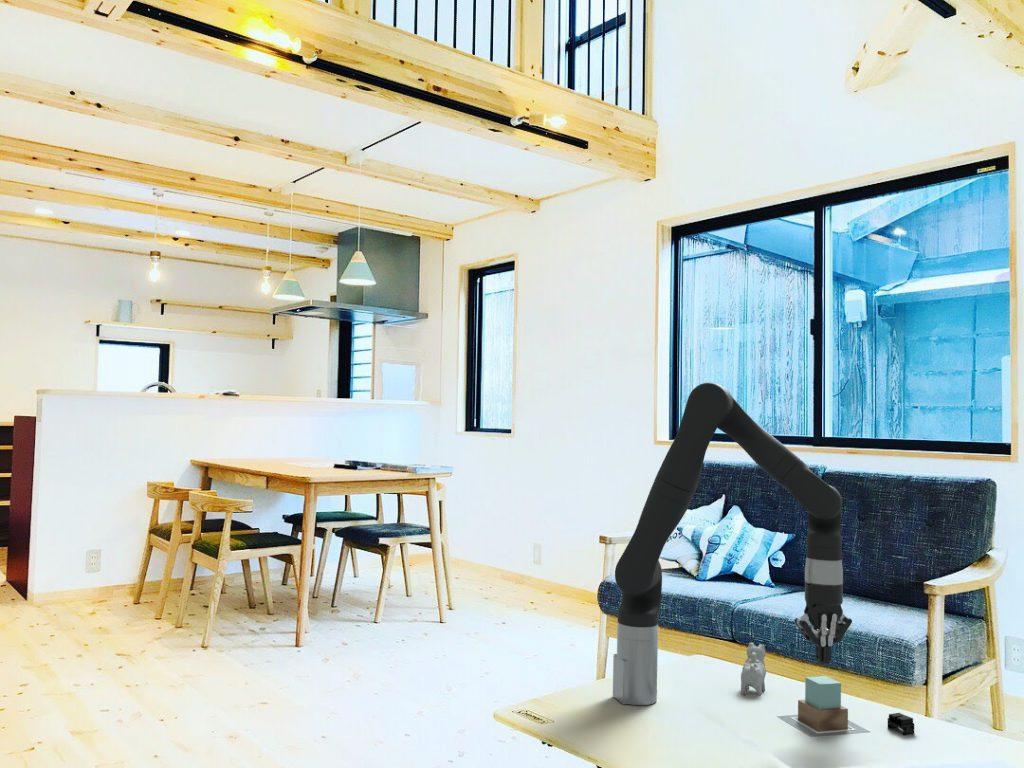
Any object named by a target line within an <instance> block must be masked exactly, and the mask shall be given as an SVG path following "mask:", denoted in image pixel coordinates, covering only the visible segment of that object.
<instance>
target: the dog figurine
mask: <svg viewBox="0 0 1024 768" xmlns="http://www.w3.org/2000/svg"><path fill="white" fill-rule="evenodd" d="M765 649H766V648H765V645H764V644H758V646H757V645H755V643H754V642H749V643H748V646H747V649H746V656H747V659H746V660H745V661H744V664H743V666H742V669H741V670H742V671H741V674H740V695H741V696H740V697H742V696H746V690H749V689H750V687H751V688H752V689H754V690H755V691H756V695H757V696H758V695H759V696H762V694H763V692H765V691H766V686H765V678H766V675H767V668H766V664H765V657H766V652H765V651H766V650H765ZM762 690H763V691H762Z"/></svg>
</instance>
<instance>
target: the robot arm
mask: <svg viewBox="0 0 1024 768" xmlns="http://www.w3.org/2000/svg"><path fill="white" fill-rule="evenodd" d="M717 429H718V430H720V431H721V432H723V433H724V434H725V435H727V436H728V437H729V438H731V439H732V440H733V441H734V442H736V443H737V445H739V447H741V448H742V450H743V451H744V452H745V453H747V455H748V456H749V457H750V458H751V459H752V460H753V461H754V463H756V464H757V466H759V467H760V469H761V470H763V471H764V472H765V473H766V474H767V475H768V476H769V477H771V479H772V480H773V481H775V482H776V483H777V484H778V485H779V486H781V487H782V488H783V489H785V490H786V491H787V492H789V493H790V495H791V496H793V498H794V499H795V500H796V501H797V502H798V503H799V504H800V505H801V506H802V507H803V508H804V509H805V510H806V511H807V527H808V529H807V530H808V531H807V535H806V548H805V550H806V552H805V553H806V554H805V555H806V559H805V566H804V601H805V603H806V605H805V608H804V611H803V613H804V614H802V616H800V618H799V617H796V618H795V619H794V623H795V624H796V626H797V627H798V630H799V631H800V632H801V633H802V635H803V636H804V638H805V640H806V641H807V642H809V643H811V644H814V645H815V660H816V661H817V663H818V664H821V665H830V663H831V660H832V646H834V644H836V643H840V642H841V640H842V639H843V637H844V636H845V634H846V633H847V631H848V629H849V628H850V626H851V624H852V623H853V620H852V618H849V617H848V616H846V615H845V614H844V610H843V608H842V604H843V600H844V597H843V596H844V593H843V592H844V591H843V590H844V589H843V587H844V578H843V577H844V570H843V563H842V562H843V560H842V558H843V556H842V555H843V551H842V548H843V545H842V543H843V542H842V534H841V527H842V513H843V512H842V511H843V509H842V508H843V498H842V495H841V493H840V492H839V490H838V489H837V487H834V486H833V485H830V484H828V483H827V482H825V481H824V480H823V479H822V478H820V477H819V476H818V475H817V474H816V473H814V471H812V470H811V469H810V467H809V466H808V465H807V464H806V463H805V462H804V461H803V460H802V459H800V457H798V456H797V455H796V454H795V453H794V452H793V451H791V450H790V449H789V448H788V447H786V445H785V444H783V443H782V442H781V441H780V440H779V439H777V438H776V437H774V436H773V435H772V434H770V433H769V432H768V431H767V430H765V429H764V427H762V426H761V425H759V424H758V423H757V422H756V421H755V419H753V418H752V417H751V416H750V415H749V414H748V413H747V412H746V411H745V410H744V409H743V408H742V406H741V405H740V404H739V403H738V402H737V400H736V399H735V398H734V397H733V396H732V394H731V393H730V391H729V389H727V387H725V386H724V385H721V384H720V383H716V382H702V383H699V384H698V385H697V386H695V387H694V388H693V389H692V391H691V392H690V393H689V395H688V398H687V401H686V404H685V407H684V411H683V414H682V418H681V421H680V424H679V426H678V429H677V433H676V436H675V437H674V440H673V441H672V443H671V445H670V447H669V448H668V450H667V453H666V455H665V457H664V459H663V461H662V463H661V465H660V467H659V470H658V472H657V473H656V476H655V478H654V481H653V482H652V486H651V487H650V489H649V493H648V496H647V497H646V501H645V502H644V505H643V508H642V511H641V513H640V517H639V519H638V523H637V526H636V527H635V530H634V532H633V534H632V536H631V538H630V540H629V542H628V543H627V545H626V547H625V549H624V550H623V553H622V554H621V556H620V557H619V559H618V561H617V563H616V566H615V569H614V579H615V583H616V585H617V587H618V588H619V590H620V591H621V592H622V595H621V596H622V597H621V601H620V605H619V607H618V608H617V609H618V610H617V631H616V632H617V633H616V635H617V636H616V637H617V638H616V653H614V654H613V659H612V660H613V663H612V664H613V665H612V696H613V698H615V699H616V701H617V700H619V702H620V703H621V704H622V705H633V706H648V705H653V704H655V703H657V699H658V697H657V696H658V655H659V654H658V651H659V650H658V648H659V647H658V645H659V644H658V643H659V642H658V641H659V615H660V613H661V606H662V592H663V590H662V589H663V588H662V586H663V571H662V565H661V563H660V561H659V559H660V558H661V557H660V556H661V554H662V551H663V549H664V547H665V545H666V543H667V541H668V540H669V538H670V537H671V535H672V534H673V532H674V531H675V529H676V528H677V527H678V526H679V524H680V522H681V521H682V519H683V517H684V516H685V515H686V512H687V510H688V509H689V507H690V504H691V502H692V500H693V498H694V495H695V493H696V490H697V488H698V485H699V482H700V478H701V474H702V469H703V466H704V461H705V456H706V452H707V450H708V447H709V444H711V440H712V439H713V437H714V435H715V433H716V431H717ZM810 625H811V627H810Z"/></svg>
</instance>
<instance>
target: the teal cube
mask: <svg viewBox="0 0 1024 768" xmlns="http://www.w3.org/2000/svg"><path fill="white" fill-rule="evenodd" d="M804 681H805V682H804V683H805V688H804V690H805V691H804V694H805V695H804V697H805V698H804V700H805V701H806V702H808V703H809V704H811V705H813V706H815V707H817V708H819V709H829V708H841V706H842V682H839V681H837V680H836V679H834V678H831V677H829V676H826V675H822V676H820V675H819V676H805V680H804Z"/></svg>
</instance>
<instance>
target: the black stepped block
mask: <svg viewBox="0 0 1024 768" xmlns="http://www.w3.org/2000/svg"><path fill="white" fill-rule="evenodd" d="M897 728H899V729H901V730H902V735H903V736H909V735H914V734H915V722H914V718H913V717H911V716H908V715H905V714H904V713H901V712H895V713H889V714H888V718H887V729H888V730H891V729H897Z"/></svg>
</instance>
